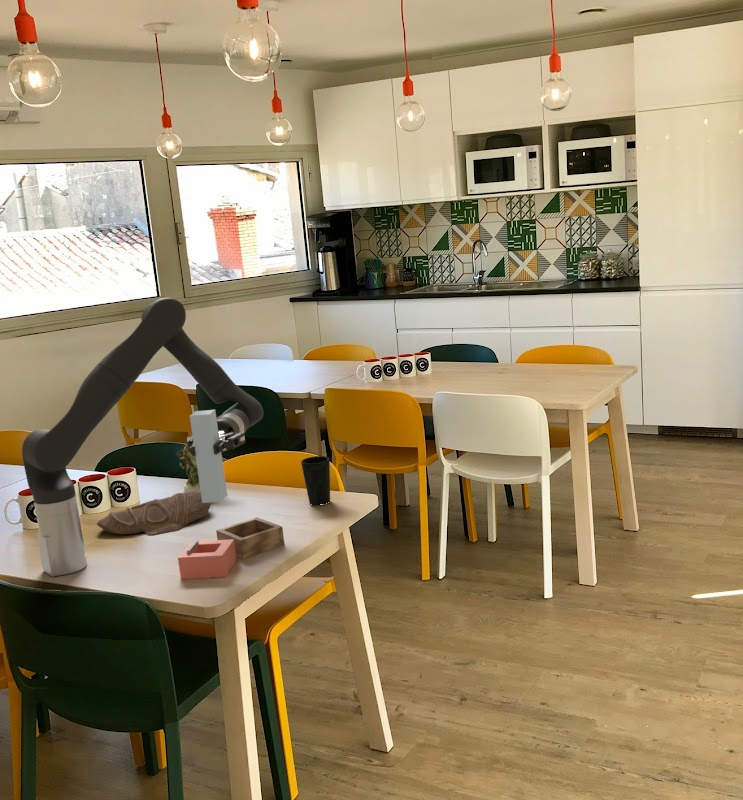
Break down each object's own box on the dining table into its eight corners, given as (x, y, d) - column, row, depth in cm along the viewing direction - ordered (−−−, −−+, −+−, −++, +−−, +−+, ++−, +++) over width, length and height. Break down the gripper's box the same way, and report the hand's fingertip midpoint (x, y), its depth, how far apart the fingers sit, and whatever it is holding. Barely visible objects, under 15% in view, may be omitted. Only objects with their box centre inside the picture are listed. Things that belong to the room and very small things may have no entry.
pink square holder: (225, 577, 199) (221, 552, 198) (180, 579, 200) (177, 554, 199) (236, 559, 209) (233, 535, 208) (194, 562, 210) (191, 538, 209)
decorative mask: (89, 506, 247) (196, 476, 258) (95, 529, 249) (201, 497, 259) (100, 529, 226) (217, 495, 237) (106, 554, 228) (222, 519, 238)
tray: (242, 559, 209) (240, 540, 208) (218, 548, 218) (216, 530, 217) (284, 544, 216) (282, 526, 215) (259, 534, 225) (257, 517, 224)
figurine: (231, 489, 267) (222, 423, 263) (187, 500, 260) (177, 432, 256) (217, 481, 277) (209, 417, 273) (174, 491, 270) (165, 426, 266)
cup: (302, 501, 248) (298, 459, 246) (329, 496, 250) (325, 454, 248) (309, 509, 241) (304, 465, 239) (337, 504, 243) (332, 460, 241)
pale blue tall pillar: (221, 501, 203) (209, 414, 199) (202, 502, 204) (189, 415, 199) (227, 495, 207) (215, 409, 203) (208, 496, 208) (195, 411, 204)
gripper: (194, 418, 217) (170, 436, 200) (252, 414, 215) (233, 432, 199) (198, 448, 219) (175, 469, 202) (256, 444, 217) (237, 465, 200)
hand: (204, 450), depth 200 cm, fingers closed on pale blue tall pillar, 4 cm apart
